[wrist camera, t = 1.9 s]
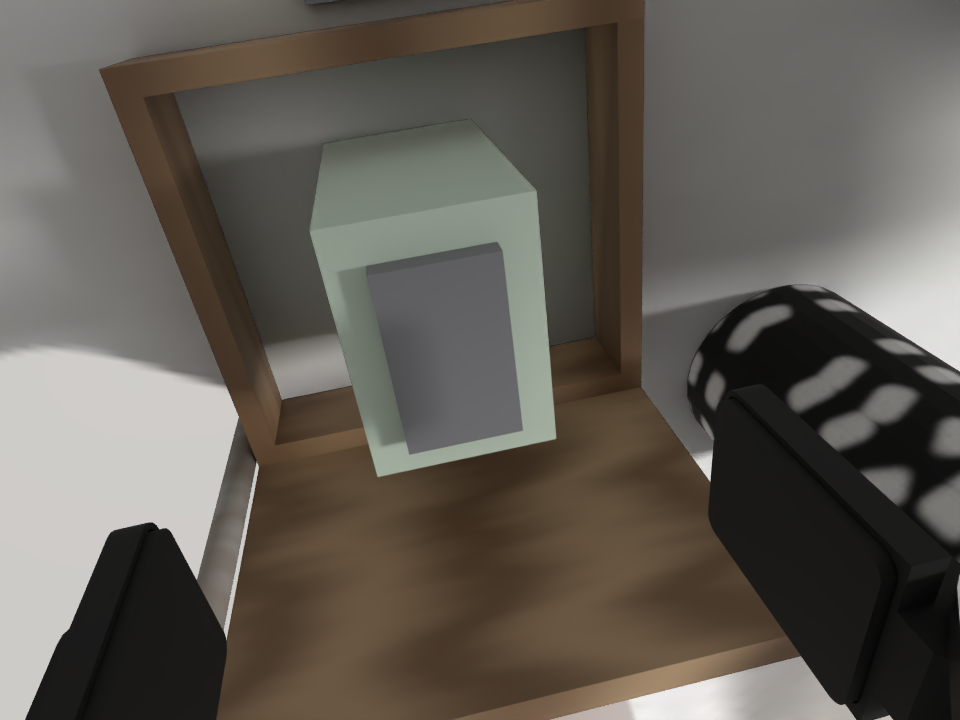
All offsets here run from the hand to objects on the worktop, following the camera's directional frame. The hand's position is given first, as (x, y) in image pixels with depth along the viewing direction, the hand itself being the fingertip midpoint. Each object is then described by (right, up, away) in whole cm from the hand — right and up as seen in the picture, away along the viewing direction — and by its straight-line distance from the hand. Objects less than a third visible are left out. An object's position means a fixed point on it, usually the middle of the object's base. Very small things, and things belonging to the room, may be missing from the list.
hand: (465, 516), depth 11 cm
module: (-2, +7, +12) cm, 15 cm away
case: (-2, +7, +12) cm, 15 cm away
